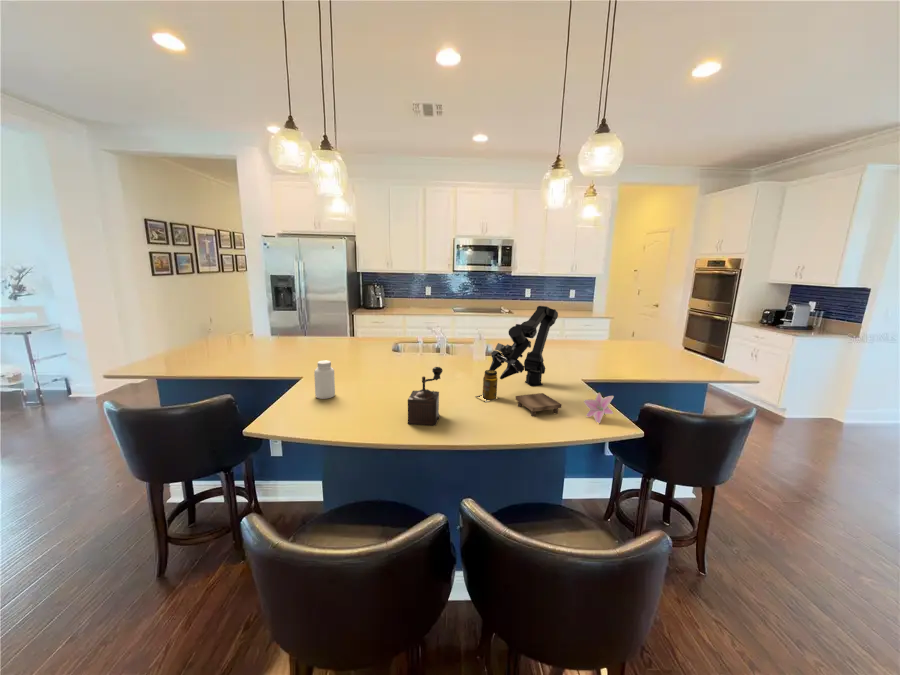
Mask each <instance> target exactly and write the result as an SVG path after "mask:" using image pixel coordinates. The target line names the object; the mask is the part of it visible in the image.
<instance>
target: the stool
mask: <svg viewBox="0 0 900 675" xmlns="http://www.w3.org/2000/svg"><path fill="white" fill-rule="evenodd" d="M514 400H516V401H517V407H519V408H523V406H524V407H526V408H527V409H528V410H529V411H530V417H532V418H534V417H535V418H536V416H537V412H541V411H548V410H552V413H553V414H554V413H557V414H558V412H559V409H562V407H563V406H562V403H560V402H559V401H556V400H555V399H554V398H552V397H551V396H549V395H547V394H545V393H543V392H541V393H539V392H538V393H532V394H522V395H515V398H514Z"/></svg>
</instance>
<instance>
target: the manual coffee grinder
mask: <svg viewBox="0 0 900 675" xmlns="http://www.w3.org/2000/svg"><path fill="white" fill-rule="evenodd" d="M432 373H433V378H427V379H426V376H421V383H422V389H420V390H412V392H411V394H410V396H409V397H408V398H407V424H408V425H414V426H431V427H436V426H437V424H438V422H439V420H440V414H439V410H440V409H439V408H440V404H439V403H440V402H439V401H440V391H438V390H437V391H436V390H435V391H434V390H429V389H426V383H427V382H432V381H438V380H441V374H442V373H443V369H442V367H440V366H434V367H433V368H432Z"/></svg>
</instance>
